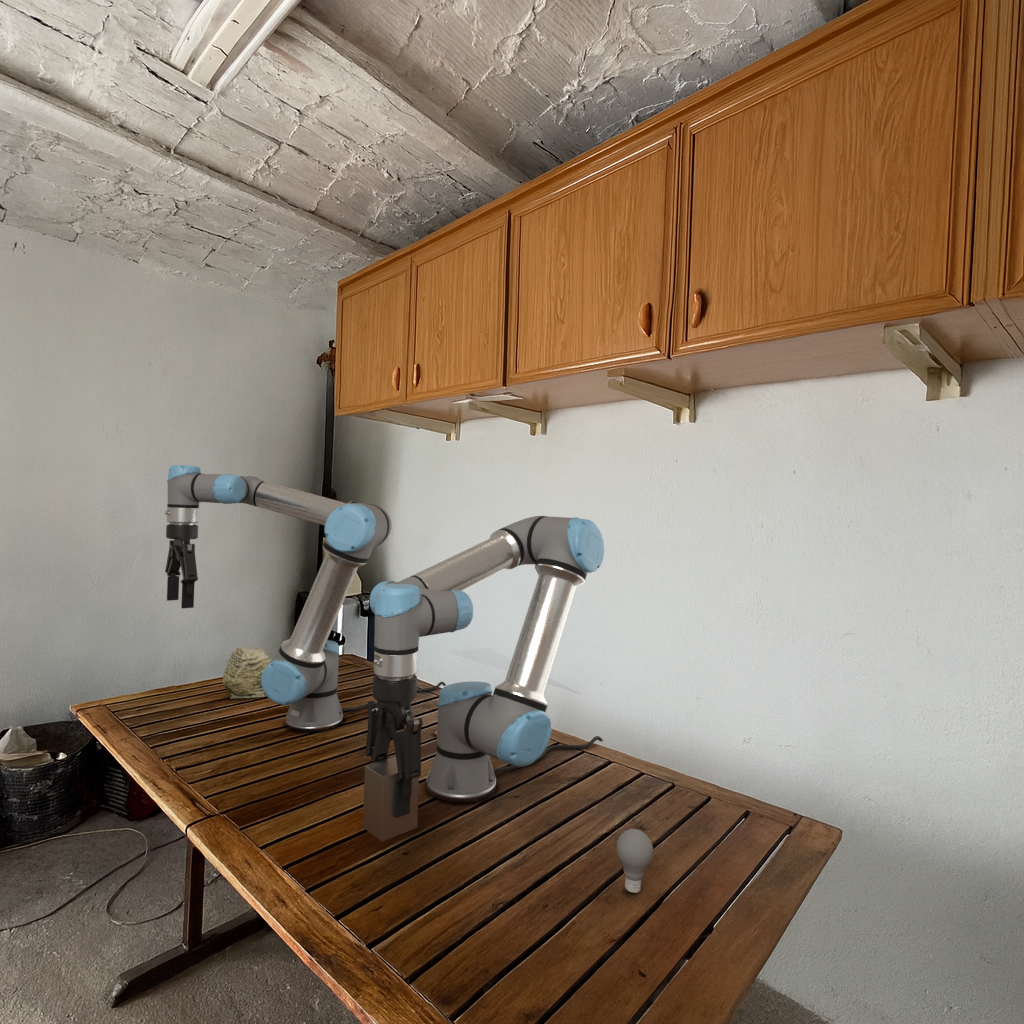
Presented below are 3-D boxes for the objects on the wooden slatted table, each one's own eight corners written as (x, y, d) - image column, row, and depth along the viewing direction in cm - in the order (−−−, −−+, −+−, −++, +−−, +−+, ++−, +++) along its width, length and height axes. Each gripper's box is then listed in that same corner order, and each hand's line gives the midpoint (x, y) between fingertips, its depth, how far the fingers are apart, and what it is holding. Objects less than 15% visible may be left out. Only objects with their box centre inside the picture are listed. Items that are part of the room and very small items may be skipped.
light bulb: (610, 879, 108) (613, 822, 108) (644, 879, 109) (647, 822, 109) (619, 902, 102) (622, 840, 102) (655, 901, 103) (658, 840, 103)
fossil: (218, 695, 195) (220, 647, 195) (278, 685, 208) (279, 640, 207) (228, 703, 189) (230, 653, 188) (289, 692, 201) (290, 645, 201)
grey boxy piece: (362, 827, 109) (364, 765, 109) (398, 814, 114) (400, 754, 114) (381, 842, 105) (383, 777, 105) (417, 827, 110) (419, 765, 110)
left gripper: (154, 521, 174) (151, 598, 174) (180, 526, 155) (177, 612, 156) (184, 521, 179) (181, 596, 179) (213, 526, 160) (210, 610, 161)
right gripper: (347, 666, 113) (343, 793, 114) (408, 692, 100) (403, 837, 100) (384, 659, 119) (379, 781, 119) (446, 684, 105) (441, 821, 105)
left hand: (179, 604), depth 167 cm, fingers open, 13 cm apart
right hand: (390, 806), depth 110 cm, fingers closed on grey boxy piece, 6 cm apart
